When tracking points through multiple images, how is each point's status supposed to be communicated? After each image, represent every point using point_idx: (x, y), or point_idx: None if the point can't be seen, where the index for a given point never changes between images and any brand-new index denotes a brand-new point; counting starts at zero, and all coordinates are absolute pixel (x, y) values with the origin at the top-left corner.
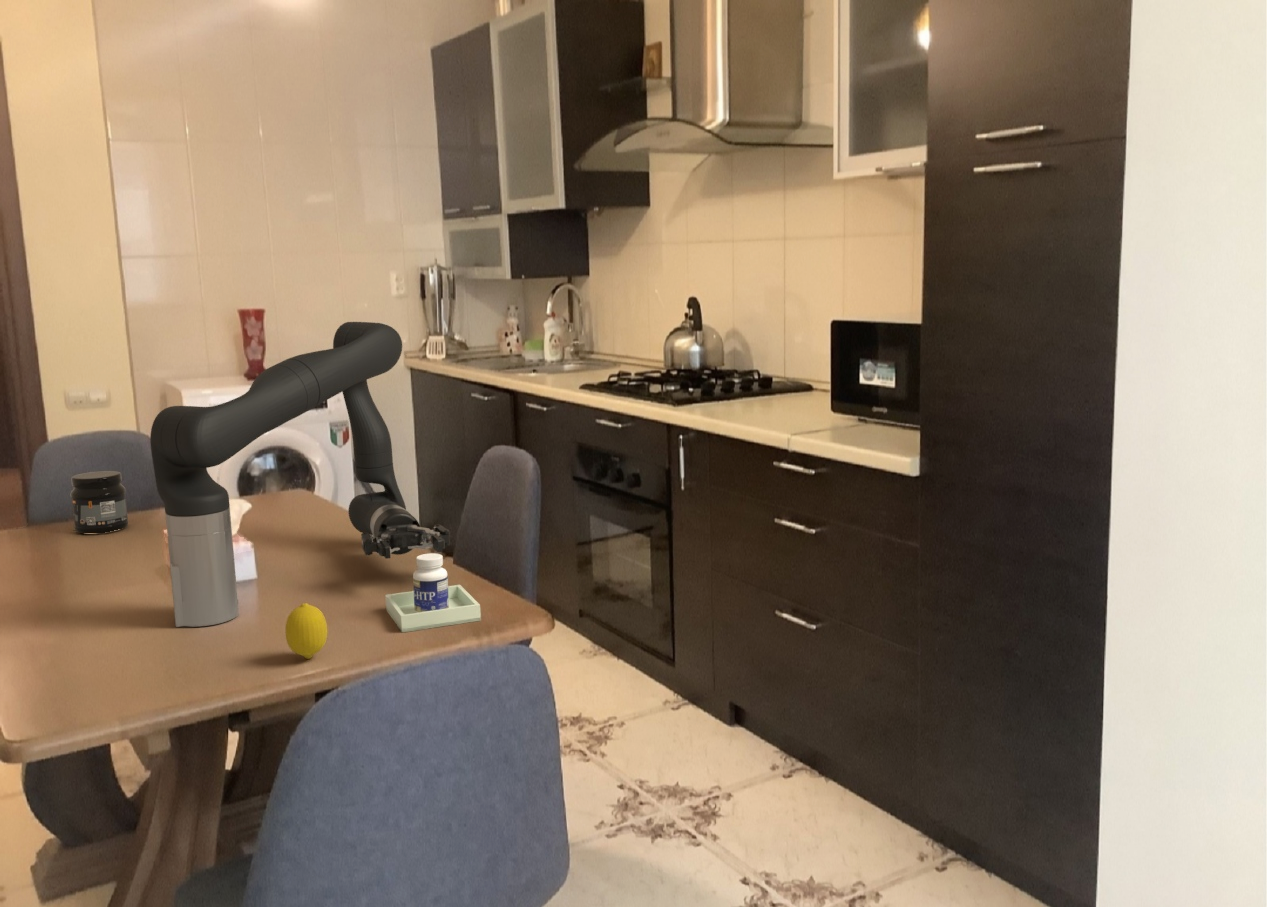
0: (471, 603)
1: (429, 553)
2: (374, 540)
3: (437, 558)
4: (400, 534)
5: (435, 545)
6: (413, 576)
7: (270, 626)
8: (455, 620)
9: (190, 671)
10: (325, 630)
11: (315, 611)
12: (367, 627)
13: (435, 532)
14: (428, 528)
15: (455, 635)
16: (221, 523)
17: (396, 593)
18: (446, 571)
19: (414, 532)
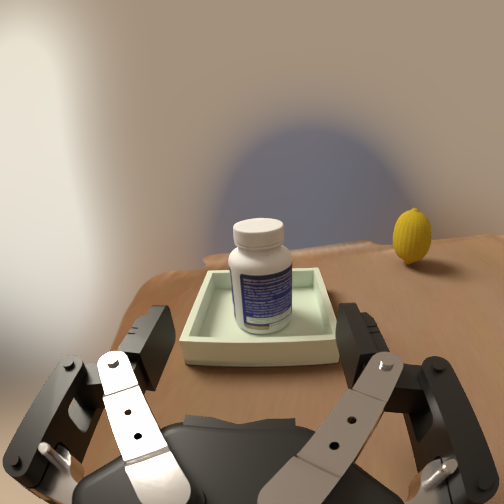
0: (209, 287)
1: (251, 231)
2: (415, 490)
3: (248, 219)
4: (268, 435)
5: (162, 347)
6: (291, 256)
7: (496, 335)
8: None
9: (489, 266)
10: (393, 232)
11: (403, 213)
12: (364, 310)
13: (115, 357)
14: (106, 395)
15: None
16: None
17: (319, 339)
18: (231, 252)
19: (176, 437)
